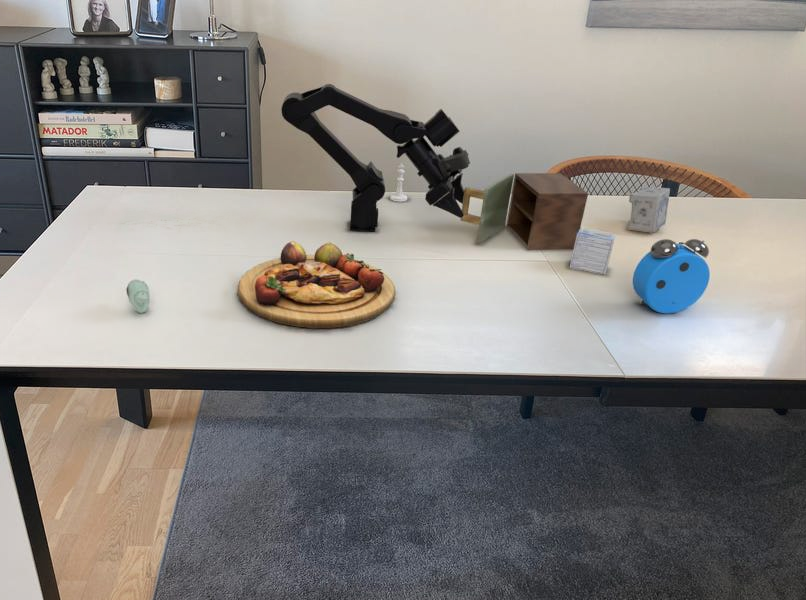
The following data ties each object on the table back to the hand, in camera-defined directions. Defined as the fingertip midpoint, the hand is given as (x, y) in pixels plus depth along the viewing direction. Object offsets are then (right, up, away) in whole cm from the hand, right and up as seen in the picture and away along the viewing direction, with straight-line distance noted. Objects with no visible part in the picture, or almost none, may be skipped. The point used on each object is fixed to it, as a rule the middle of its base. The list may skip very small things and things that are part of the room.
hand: (465, 210), depth 171 cm
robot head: (-69, -28, -37) cm, 83 cm away
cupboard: (+20, -6, +5) cm, 21 cm away
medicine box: (+26, -16, -10) cm, 32 cm away
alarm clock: (+35, -26, -27) cm, 51 cm away
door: (+5, -4, +6) cm, 9 cm away
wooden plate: (-36, -23, -27) cm, 51 cm away
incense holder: (+49, -2, +14) cm, 51 cm away
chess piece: (-14, +9, +27) cm, 32 cm away
